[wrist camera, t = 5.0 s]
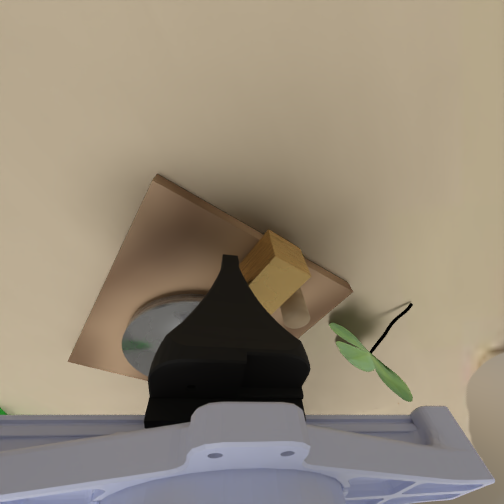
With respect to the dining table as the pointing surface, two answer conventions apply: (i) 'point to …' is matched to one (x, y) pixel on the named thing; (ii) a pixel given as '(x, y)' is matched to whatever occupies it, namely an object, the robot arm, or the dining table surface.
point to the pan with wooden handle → (180, 306)
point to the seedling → (371, 358)
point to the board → (183, 273)
